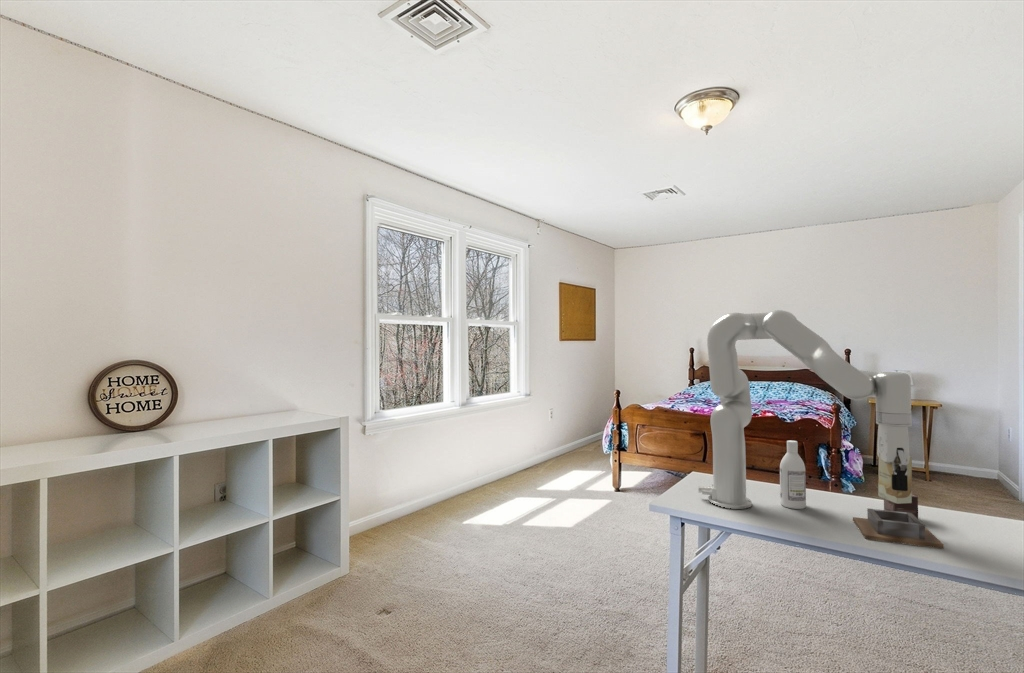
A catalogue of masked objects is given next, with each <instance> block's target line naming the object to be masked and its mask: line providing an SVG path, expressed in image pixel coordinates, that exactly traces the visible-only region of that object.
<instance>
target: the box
mask: <svg viewBox="0 0 1024 673" xmlns="http://www.w3.org/2000/svg"><path fill="white" fill-rule="evenodd" d="M918 500H919V496H917V495H915V494H913V493H912V503H901V504H897V503H894V502H892V501H889V500H887V499H884V498H883V510H888V511H898V512H908V513H912V514H913V515H914V516H915V517H916V518H917V519H918V520H919V501H918Z"/></svg>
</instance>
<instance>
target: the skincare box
mask: <svg viewBox="0 0 1024 673" xmlns="http://www.w3.org/2000/svg"><path fill="white" fill-rule="evenodd" d="M894 462H899V459H898V457H896V458H895V460H894ZM897 467H898V465H896V469H897ZM912 472H913V458H912V456H910V459H909V464H907V480H908V490H907V491H899V490H893V489H892V474H893V469H892V463H891V462H890V463H889V464H887V463H886V462H884V461H883V460H882V459H881V456H880V452H879V457H878V486H877V488H878V494H877V495H878V497H879V498H882V499H883V500H884V499H887V500H889V501H892V502H894V503H897V504H901V503H912V494H913V491H912V489H913V488H912V487H913V486H912V485H913V480H912V479H913V475H912V474H913V473H912Z"/></svg>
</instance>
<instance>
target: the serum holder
mask: <svg viewBox="0 0 1024 673" xmlns="http://www.w3.org/2000/svg"><path fill="white" fill-rule="evenodd" d="M866 509H867V510H866V511H867V514H866V515H867V518H866V517H865V518H864V517H855V516H853V517H852V521H854V522H853V523H854V524H855V526H856V527H857V529H858V528H859V529H858V530H859V532H860V533H861V535H862V536H863V537H864V539H866V540H870V541H878V542H879V541H880V542H887V543H893V542H895V544H902V543H904V545H910V544H911V546H918V545H919V547H925V548H935V549H936V548H937V549H945V546H944V543H943V542H941V540H939V539H938V538H937V536H936V535H935V534H933V533H932V532H931V531H930V529H928V528H927V527H926V525H925V524H924V523H923V522H922V521H921V520H920V519H919V518H918V519H917V518H916V517H915V516H914V515H913V514H912V513H908V512H898V511H888V510H884V509H877V508H869V507H868V508H866Z"/></svg>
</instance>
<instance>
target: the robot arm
mask: <svg viewBox="0 0 1024 673" xmlns="http://www.w3.org/2000/svg"><path fill="white" fill-rule="evenodd" d="M771 339H772V340H773V341H774V342H776V343H777V344H778V345H780V346H781V347H783V349H786V351H787V352H789V353H790V354H792V355H793V357H795V358H797V359H798V360H799V361H800V362H802V363H803V365H804V366H806V367H807V368H809V369H810V370H811V371H812V372H813V373H815V375H817V376H818V377H819V378H820V379H821V380H823V381H824V382H826V384H828V385H829V386H830V387H831V388H833V389H835V390H836V391H837V392H838V393H839V394H841V395H842V396H844V397H846V399H850V400H852V401H862V400H865V399H867V398H869V397H875V424H876V425H878V426H877V427H878V429H877V442H876V443H877V444H876V445H877V446H876V447H877V448H876V451H877V452H876V456H877V457H878V458H879V452H880V456H881V459H882V460H883V461H884V462H886V463H887V464H889V463H890V462H891V463H892V469H893V474H892V489H893V490H899V491H907V490H908V480H907V464H909V459H910V457H911V456H910V438H909V427H912V426H913V425H912V424H913V423H912V422H913V421H912V418H913V417H912V384H911V382H912V380H911V377H910V375H909V374H908V373H907V372H906V373H905V372H901V371H900V372H898V371H896V372H895V371H882V372H881V371H880V372H876V371H875V372H874V371H868V370H859V369H857V368H856V367H855V366H854V365H852V364H851V363H849V362H848V361H847V360H845V359H844V358H843V357H842V356H840V355H839V354H838V353H837V352H836V351H835V350H834V349H833V348H832V347H831V345H830V344H829V343H828V341H826V340H825V339H824V338H823V337H822V336H821V335H819V334H817V333H816V332H814V331H813V330H812V329H810V328H809V327H807V325H805V324H803V323H802V322H801V321H800V320H798V319H797V317H796V316H795V315H794V314H793V313H792V312H790V311H787V310H782V309H781V310H780V309H778V310H772V311H770V312H758V313H755V312H754V313H744V312H743V313H742V312H731V313H728V314H725V315H723V316H721V317H720V318H718V319H717V320H715V322H714V323H713V324H711V327H710V328H709V331H708V335H707V338H706V342H707V344H706V346H707V357H708V369H709V370H708V371H709V383H710V389H711V391H712V392H713V394H714V395H715V396H716V397H718V398H719V400H720V404H718V405H717V406H715V408H713V410H712V412H711V415H710V418H709V419H710V422H709V423H710V428H711V435H712V440H711V441H712V482H713V483H712V484H711V485H712V486H708V487H705V486H701V485H700V486H698V493H701V495H707V496H708V497H707V499H708V500H709V501H710V502H711V504H712V503H713V504H715V505H714V506H716V505H718V506H717V507H719V506H721V507H720V508H723V507H725V508H724V509H730V508H731V509H730V510H732V509H733V510H743V509H749V508H750V507H752V506H753V505H752V504H753V502H752V500H751V499H750V498H748V497H747V461H746V460H747V459H746V458H747V457H746V456H747V454H746V439H745V431H744V430H745V429H744V428H745V427H747V426H748V425H750V423H751V421H752V417H753V408H752V399H751V391H750V390H751V389H750V382H749V378H748V376H747V375H746V373H745V372H744V371H743V370H742V369H741V368H739V364H738V363H739V362H738V352H737V349H736V348H737V347H736V343H737V341H744V340H745V341H747V340H771ZM896 457H898V459H899V462H894V460H895V458H896ZM896 465H898V467H897V469H896ZM709 501H708V502H709ZM710 502H709V503H710ZM713 504H712V505H713Z"/></svg>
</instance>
